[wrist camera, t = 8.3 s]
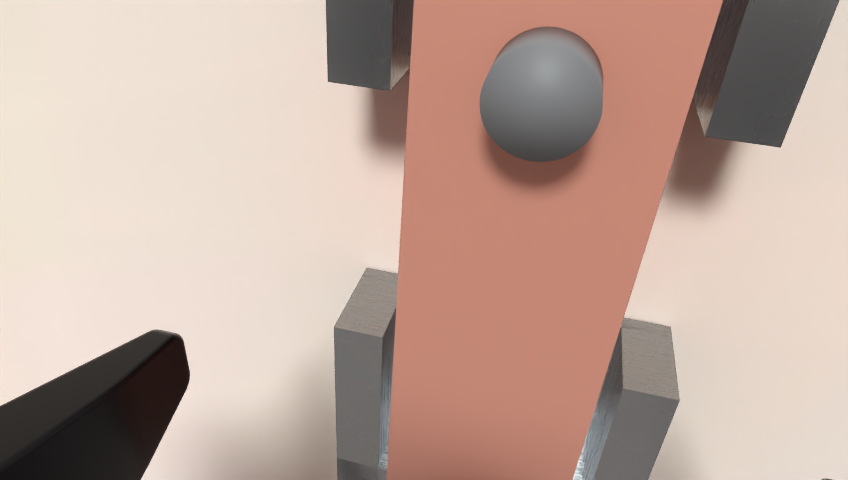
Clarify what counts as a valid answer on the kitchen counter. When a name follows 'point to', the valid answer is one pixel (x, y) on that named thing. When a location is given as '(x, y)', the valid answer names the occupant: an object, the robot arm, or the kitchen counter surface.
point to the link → (527, 220)
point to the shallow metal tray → (637, 341)
